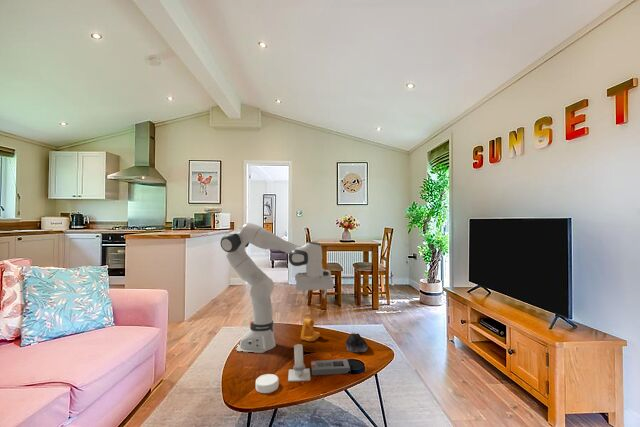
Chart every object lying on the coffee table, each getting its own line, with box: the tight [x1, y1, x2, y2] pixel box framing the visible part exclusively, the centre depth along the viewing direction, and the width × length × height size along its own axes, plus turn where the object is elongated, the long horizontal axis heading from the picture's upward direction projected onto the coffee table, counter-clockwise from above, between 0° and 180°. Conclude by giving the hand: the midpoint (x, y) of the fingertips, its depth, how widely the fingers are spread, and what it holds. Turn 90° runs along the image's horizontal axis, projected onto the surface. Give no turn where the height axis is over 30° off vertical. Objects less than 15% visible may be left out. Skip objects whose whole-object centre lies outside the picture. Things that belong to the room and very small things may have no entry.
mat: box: [287, 368, 311, 383], centre depth 136 cm, size 10×10×1 cm
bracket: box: [300, 317, 321, 342], centre depth 180 cm, size 11×7×12 cm, turn 144°
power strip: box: [310, 358, 351, 376], centre depth 141 cm, size 18×9×3 cm, turn 94°
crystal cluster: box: [345, 332, 369, 353], centre depth 165 cm, size 13×14×10 cm
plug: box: [292, 343, 306, 376], centre depth 136 cm, size 6×6×13 cm
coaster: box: [255, 373, 280, 394], centre depth 127 cm, size 10×10×4 cm
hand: (315, 298), depth 156 cm, fingers open, 8 cm apart
